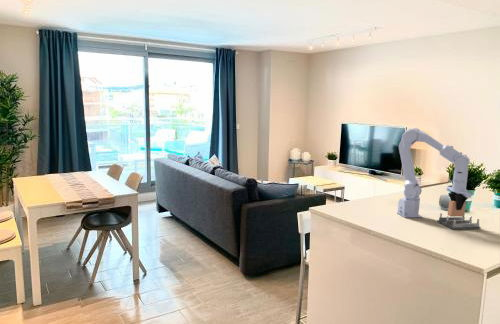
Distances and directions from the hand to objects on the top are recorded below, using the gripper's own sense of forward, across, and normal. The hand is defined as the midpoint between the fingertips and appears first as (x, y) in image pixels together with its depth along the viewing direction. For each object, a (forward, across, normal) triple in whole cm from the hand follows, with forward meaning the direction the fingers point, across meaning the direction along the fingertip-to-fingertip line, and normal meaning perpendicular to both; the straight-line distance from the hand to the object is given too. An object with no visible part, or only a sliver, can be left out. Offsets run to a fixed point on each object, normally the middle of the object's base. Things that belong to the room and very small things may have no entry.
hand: (456, 208), depth 179 cm
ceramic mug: (+8, +26, -15) cm, 31 cm away
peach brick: (+3, 0, 0) cm, 3 cm away
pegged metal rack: (+7, -2, 0) cm, 8 cm away
